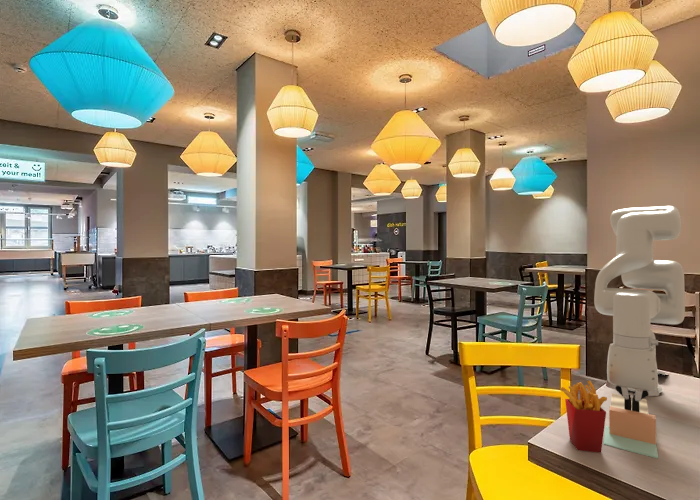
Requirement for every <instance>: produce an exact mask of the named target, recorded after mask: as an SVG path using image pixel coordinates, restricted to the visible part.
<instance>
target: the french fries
mask: <svg viewBox="0 0 700 500" xmlns="http://www.w3.org/2000/svg"><path fill="white" fill-rule="evenodd" d="M586 382H587V384H585V385H584V384H583V383H582V382H581V381H580V382H576V383H574V384H573V385H572V386H571V385H568V386H567V387H568V389H569V390H568V389H567V388H565V387H563V386H561V388H560V390H559V391H561V392H562V393H563V394H565V395H566V397H568V398H565V399H564V401H565V409H566V417H567V424H568V436H569V440H570V442H571V444H573V446H574V447H575V449H576V451H580V452H581V451H582V452H590V453H600V454H601V453H602V450H603V449H602V448H603V443H604V435H605V426H606V425H605V424H606V415H607V411H606V410H605V409H603V407H602V405H603V403H604V402H606V401H608V397H606V396H601V397H600V398H599V396H598V394H597V391H596V388H595V387H594V384H593V383H592V381H591V380H588V381H586Z"/></svg>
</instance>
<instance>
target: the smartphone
mask: <svg viewBox="0 0 700 500" xmlns="http://www.w3.org/2000/svg"><path fill="white" fill-rule="evenodd" d="M657 373H658V375H660V374H662V375H661V376H665V375H666V374H665V373H666V372H665V371H662V370H657Z"/></svg>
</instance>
